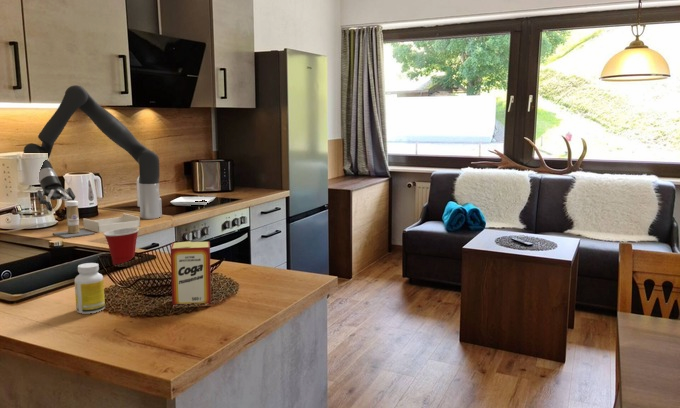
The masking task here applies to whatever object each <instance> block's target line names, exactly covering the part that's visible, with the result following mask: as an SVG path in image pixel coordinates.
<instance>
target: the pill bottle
mask: <svg viewBox="0 0 680 408" xmlns="http://www.w3.org/2000/svg"><path fill="white" fill-rule="evenodd" d="M99 266H100V265H99V263H98V262H97V263H96V262H86V263H81V264H78V266H77V272H78V273H79V274H77V275H76V276H75V278H74V292H75V293H74V294H75V307H76V312H77V313H79V314H81V313H82V315H89V314H90V313H92V314H97V313H100V312H102V311H103V310H104V309H105V308H106V303H105V301H106V300H105V285H104V284H105V283H104V281H105V280H104V276H103V274H102V273H99V270H100V267H99ZM101 310H102V311H101ZM99 311H100V312H99ZM96 312H97V313H96ZM90 315H91V314H90Z"/></svg>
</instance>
